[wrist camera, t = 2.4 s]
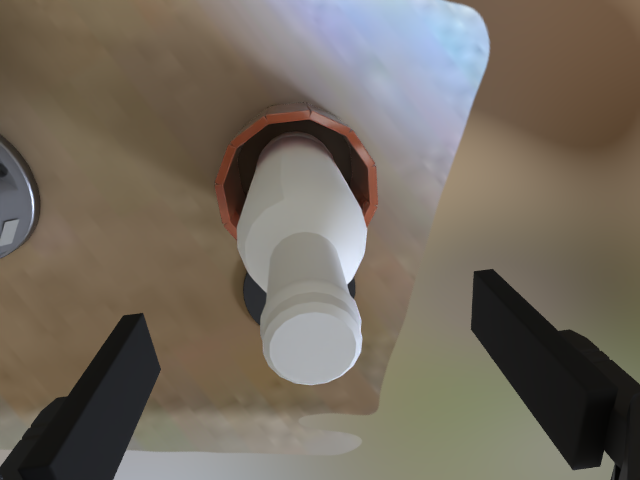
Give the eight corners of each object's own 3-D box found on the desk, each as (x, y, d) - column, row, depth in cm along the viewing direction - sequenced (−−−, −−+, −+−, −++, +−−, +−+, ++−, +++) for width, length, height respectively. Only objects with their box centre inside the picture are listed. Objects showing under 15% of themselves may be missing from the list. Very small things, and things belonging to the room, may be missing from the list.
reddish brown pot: (215, 201, 43) (195, 235, 33) (259, 80, 39) (250, 81, 29) (326, 244, 45) (336, 287, 36) (378, 136, 41) (405, 153, 32)
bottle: (280, 218, 44) (270, 461, 16) (242, 153, 41) (150, 315, 13) (346, 183, 43) (454, 379, 15) (312, 115, 40) (368, 203, 12)
